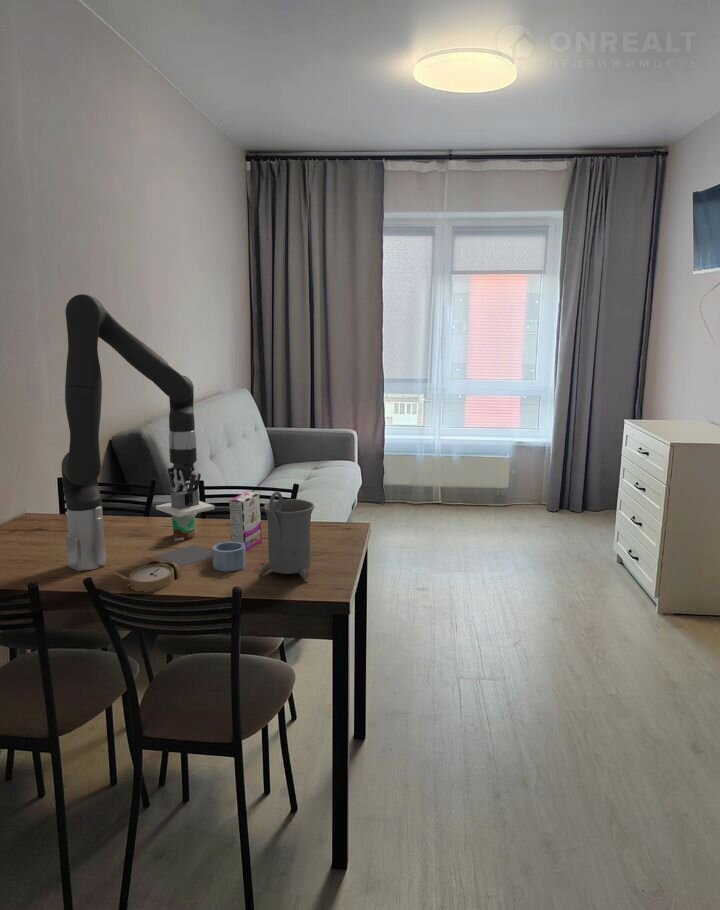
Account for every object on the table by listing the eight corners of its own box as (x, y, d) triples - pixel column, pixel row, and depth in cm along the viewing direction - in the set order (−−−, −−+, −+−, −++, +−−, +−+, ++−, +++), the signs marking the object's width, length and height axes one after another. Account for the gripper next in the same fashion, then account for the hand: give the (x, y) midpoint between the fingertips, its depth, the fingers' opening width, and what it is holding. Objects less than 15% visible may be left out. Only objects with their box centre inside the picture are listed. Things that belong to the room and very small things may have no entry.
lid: (179, 517, 189) (178, 499, 188) (155, 509, 197) (155, 492, 196) (214, 508, 197) (214, 492, 196) (191, 501, 205) (190, 485, 204)
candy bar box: (248, 541, 214) (246, 490, 211) (262, 542, 213) (260, 492, 210) (230, 552, 204) (228, 499, 201) (245, 554, 202) (243, 500, 199)
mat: (181, 568, 190) (181, 567, 190) (154, 557, 199) (154, 555, 199) (222, 556, 200) (221, 554, 200) (194, 546, 210) (194, 544, 209)
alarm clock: (119, 580, 174) (153, 552, 188) (122, 596, 176) (156, 567, 189) (156, 585, 171) (188, 556, 184) (159, 601, 173) (191, 572, 186)
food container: (192, 544, 211) (191, 513, 209) (172, 544, 211) (171, 513, 209) (202, 532, 223) (201, 503, 221) (183, 532, 223) (182, 503, 221)
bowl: (226, 575, 185) (225, 554, 184) (207, 567, 191) (206, 547, 190) (252, 566, 192) (251, 546, 191) (232, 559, 198) (232, 539, 197)
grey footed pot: (280, 560, 197) (278, 476, 192) (327, 567, 191) (326, 481, 187) (247, 583, 179) (244, 491, 175) (297, 591, 174) (295, 497, 169)
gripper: (157, 444, 195) (160, 502, 199) (185, 450, 186) (187, 511, 189) (180, 441, 201) (182, 497, 204) (208, 447, 192) (210, 506, 195)
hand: (185, 504), depth 197 cm, fingers closed on lid, 3 cm apart
